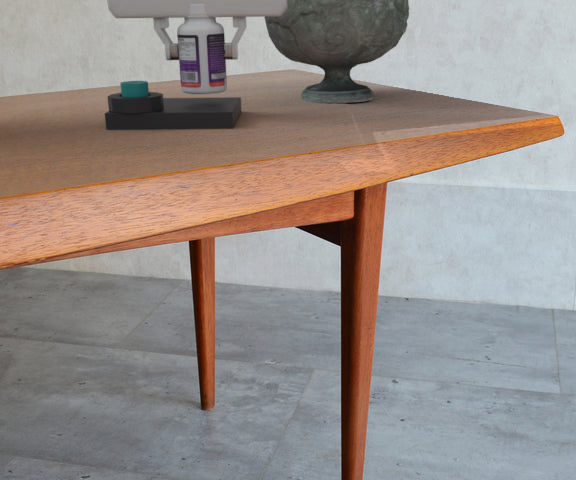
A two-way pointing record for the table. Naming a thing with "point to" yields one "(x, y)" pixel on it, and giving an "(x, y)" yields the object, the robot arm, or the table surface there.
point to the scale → (171, 112)
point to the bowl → (338, 41)
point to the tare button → (134, 89)
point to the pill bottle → (201, 53)
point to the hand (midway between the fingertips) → (202, 59)
